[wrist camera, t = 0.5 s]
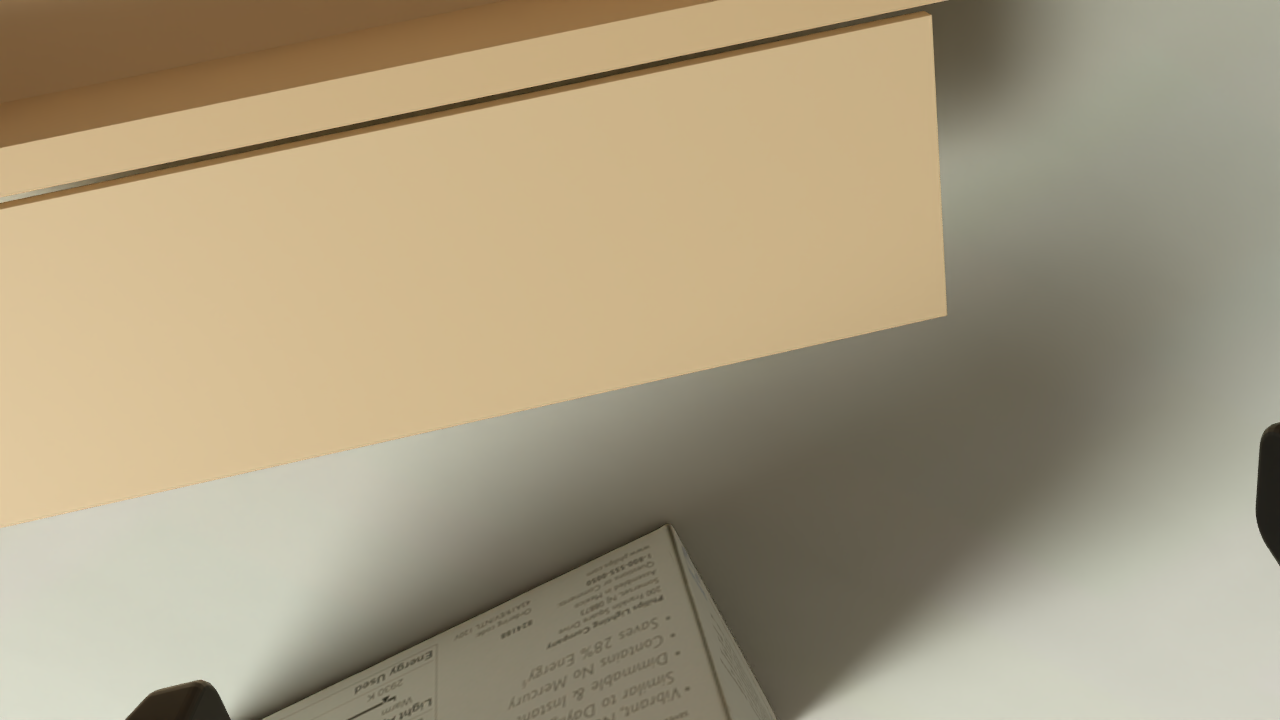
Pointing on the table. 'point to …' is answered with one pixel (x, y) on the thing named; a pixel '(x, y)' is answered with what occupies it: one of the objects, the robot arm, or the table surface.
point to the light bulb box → (569, 654)
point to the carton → (430, 217)
